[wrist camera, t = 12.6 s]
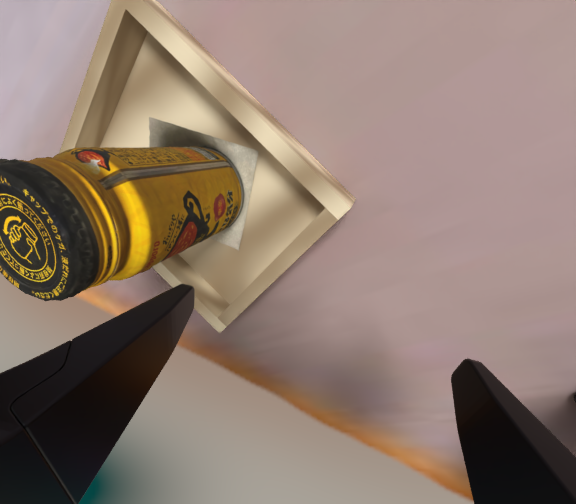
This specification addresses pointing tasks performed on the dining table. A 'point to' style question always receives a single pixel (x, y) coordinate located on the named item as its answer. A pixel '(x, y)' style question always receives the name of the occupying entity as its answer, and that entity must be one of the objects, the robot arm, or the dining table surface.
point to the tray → (217, 123)
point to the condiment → (119, 208)
